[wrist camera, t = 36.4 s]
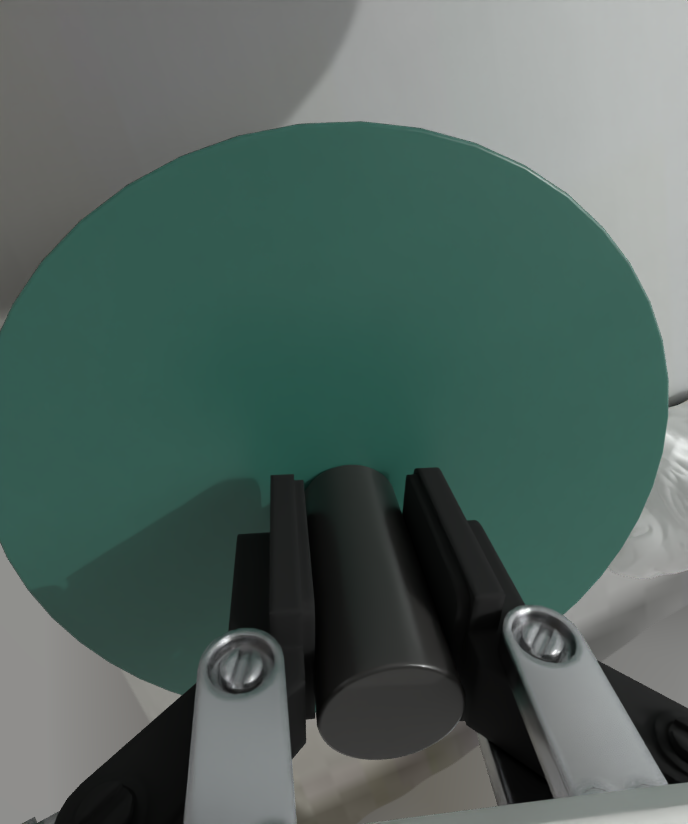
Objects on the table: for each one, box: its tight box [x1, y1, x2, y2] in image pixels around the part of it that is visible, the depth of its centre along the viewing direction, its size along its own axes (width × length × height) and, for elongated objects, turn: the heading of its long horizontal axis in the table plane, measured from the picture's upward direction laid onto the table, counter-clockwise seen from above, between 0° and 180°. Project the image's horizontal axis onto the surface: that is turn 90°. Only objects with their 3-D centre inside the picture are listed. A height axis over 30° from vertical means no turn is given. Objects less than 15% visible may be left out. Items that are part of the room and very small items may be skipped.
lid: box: [0, 121, 668, 760], centre depth 11 cm, size 17×17×7 cm
